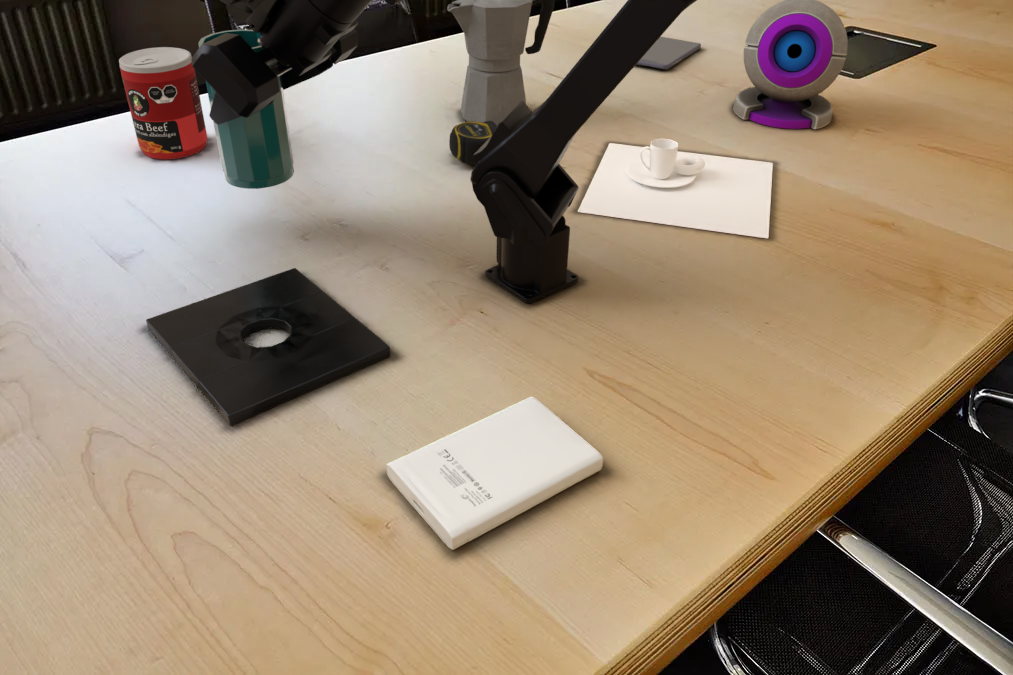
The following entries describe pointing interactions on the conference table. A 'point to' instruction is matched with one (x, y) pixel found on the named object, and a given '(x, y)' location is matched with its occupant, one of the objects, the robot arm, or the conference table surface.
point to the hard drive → (493, 470)
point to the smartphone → (668, 52)
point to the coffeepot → (496, 53)
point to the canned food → (164, 102)
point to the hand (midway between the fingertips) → (236, 107)
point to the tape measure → (469, 139)
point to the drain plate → (265, 370)
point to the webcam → (792, 65)
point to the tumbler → (254, 136)
